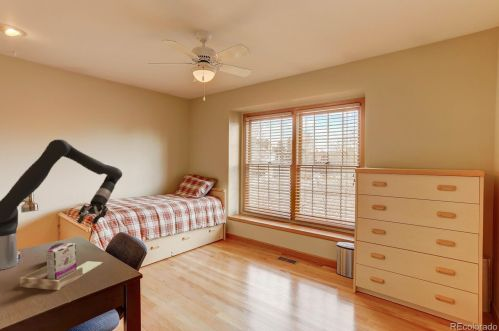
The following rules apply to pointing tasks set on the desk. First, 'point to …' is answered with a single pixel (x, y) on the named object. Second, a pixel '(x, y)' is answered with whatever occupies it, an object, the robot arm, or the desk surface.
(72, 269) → the candy bar box
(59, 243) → the decorative ball
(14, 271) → the desk surface
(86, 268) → the sage mat
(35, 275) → the lane rack
